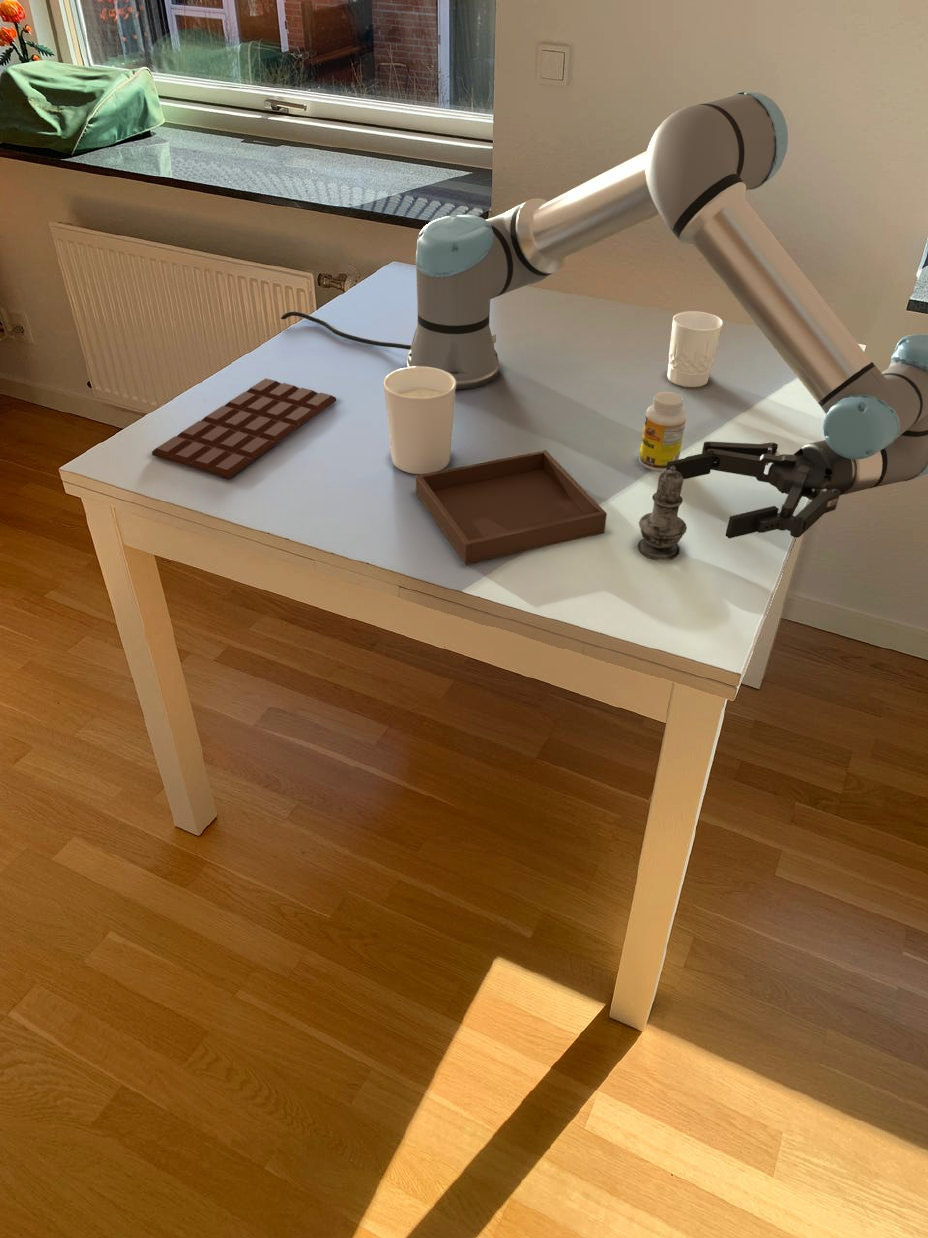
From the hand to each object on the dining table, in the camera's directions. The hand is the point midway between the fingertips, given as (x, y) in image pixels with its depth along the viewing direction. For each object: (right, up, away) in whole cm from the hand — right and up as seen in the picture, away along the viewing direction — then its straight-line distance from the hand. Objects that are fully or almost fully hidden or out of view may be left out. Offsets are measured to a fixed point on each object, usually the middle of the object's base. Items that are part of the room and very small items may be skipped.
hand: (696, 498), depth 119 cm
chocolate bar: (-61, +14, +25) cm, 67 cm away
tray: (-23, -1, +8) cm, 24 cm away
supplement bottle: (-1, +7, +19) cm, 21 cm away
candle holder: (-35, +8, +19) cm, 40 cm away
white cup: (+8, +25, +41) cm, 49 cm away
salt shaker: (-4, -6, +3) cm, 8 cm away
